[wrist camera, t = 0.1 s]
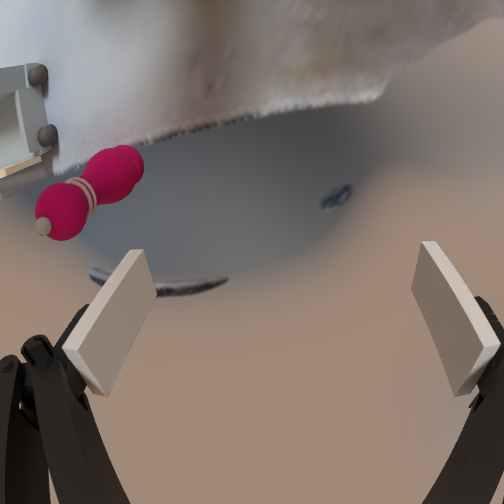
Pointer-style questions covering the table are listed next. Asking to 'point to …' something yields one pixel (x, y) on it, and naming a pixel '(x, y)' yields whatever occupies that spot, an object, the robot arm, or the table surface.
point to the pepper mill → (87, 192)
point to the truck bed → (23, 114)
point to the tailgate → (19, 166)
